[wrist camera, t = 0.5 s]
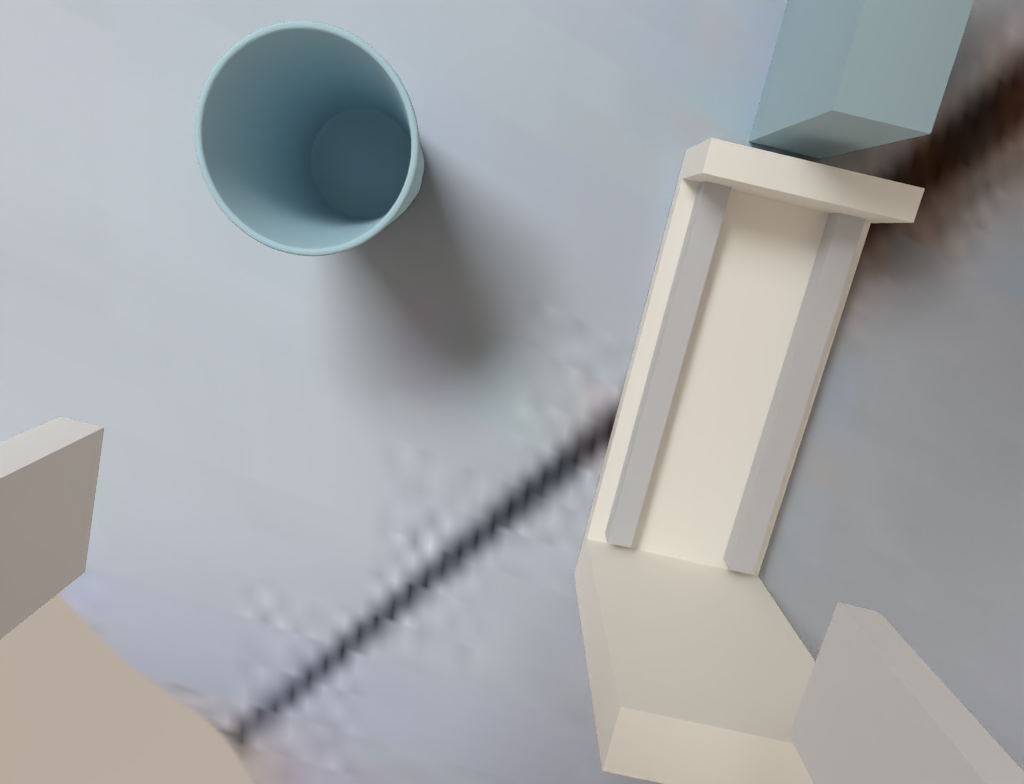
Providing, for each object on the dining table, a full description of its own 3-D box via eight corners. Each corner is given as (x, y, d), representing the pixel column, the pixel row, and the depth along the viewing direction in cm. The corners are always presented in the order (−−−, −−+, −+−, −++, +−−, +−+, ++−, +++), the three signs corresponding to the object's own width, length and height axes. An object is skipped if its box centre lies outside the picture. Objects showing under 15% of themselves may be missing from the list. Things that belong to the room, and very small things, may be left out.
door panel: (813, -91, 34) (930, -219, 24) (889, -72, 34) (1037, -191, 24) (748, 141, 36) (832, 110, 26) (820, 158, 36) (930, 133, 26)
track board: (686, 149, 36) (797, 97, 21) (871, 193, 36) (1105, 171, 22) (573, 574, 41) (602, 771, 26) (738, 610, 41) (858, 824, 26)
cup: (415, 53, 35) (370, -14, 25) (470, 216, 37) (449, 214, 27) (263, 110, 36) (159, 66, 26) (323, 267, 38) (248, 284, 27)
